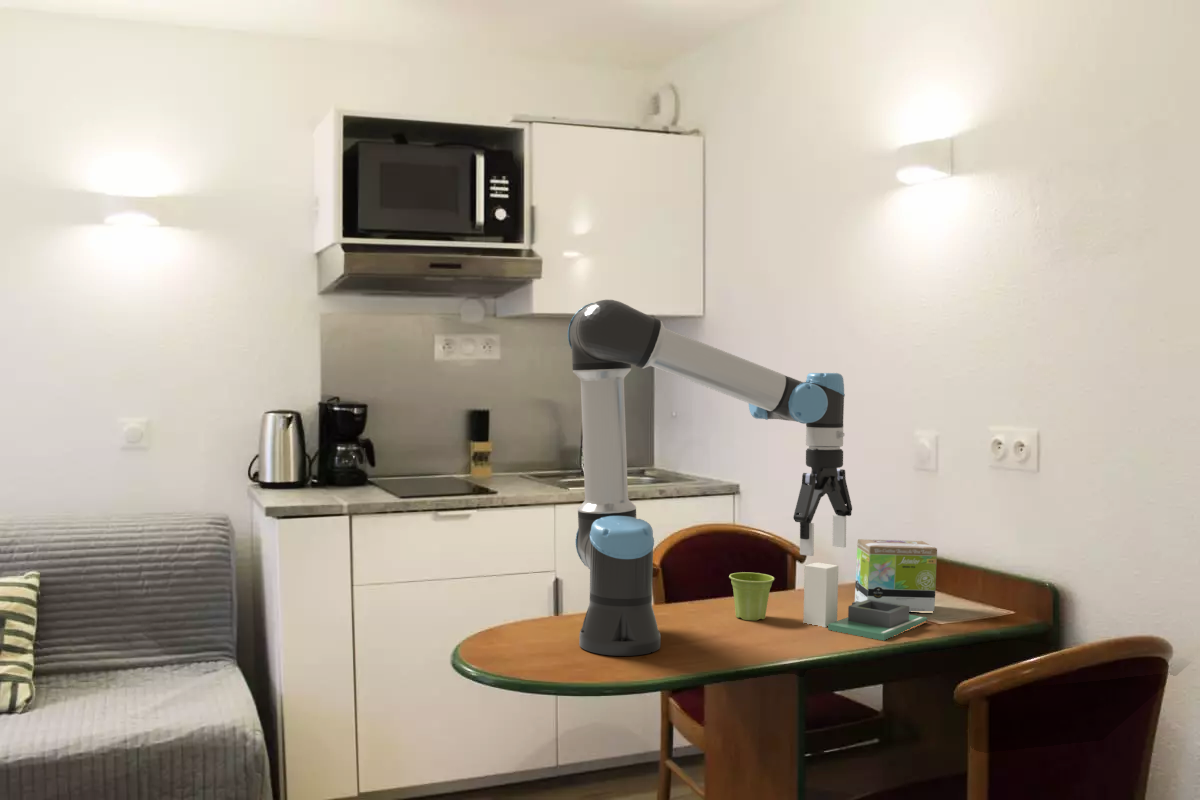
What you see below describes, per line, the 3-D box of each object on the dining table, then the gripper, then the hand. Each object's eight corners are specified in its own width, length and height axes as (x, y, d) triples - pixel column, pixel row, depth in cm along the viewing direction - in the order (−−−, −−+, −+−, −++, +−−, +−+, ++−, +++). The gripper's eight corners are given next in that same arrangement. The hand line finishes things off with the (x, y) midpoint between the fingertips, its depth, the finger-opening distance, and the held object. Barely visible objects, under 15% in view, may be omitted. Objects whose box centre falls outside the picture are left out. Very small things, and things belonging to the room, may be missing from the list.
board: (883, 640, 202) (884, 619, 202) (828, 630, 210) (828, 609, 210) (927, 623, 218) (927, 603, 217) (873, 613, 225) (874, 594, 225)
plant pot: (771, 613, 224) (772, 573, 224) (774, 623, 215) (775, 581, 215) (727, 611, 225) (728, 571, 225) (728, 622, 216) (729, 580, 215)
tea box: (867, 613, 226) (868, 545, 225) (854, 603, 236) (855, 538, 235) (936, 614, 226) (937, 546, 226) (920, 604, 236) (922, 539, 236)
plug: (825, 627, 212) (826, 568, 212) (799, 622, 216) (801, 564, 216) (837, 623, 216) (838, 565, 216) (812, 618, 220) (813, 561, 220)
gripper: (810, 452, 203) (809, 561, 204) (869, 445, 222) (868, 545, 223) (776, 450, 208) (775, 556, 209) (837, 443, 227) (836, 541, 227)
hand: (823, 550), depth 216 cm, fingers open, 13 cm apart
